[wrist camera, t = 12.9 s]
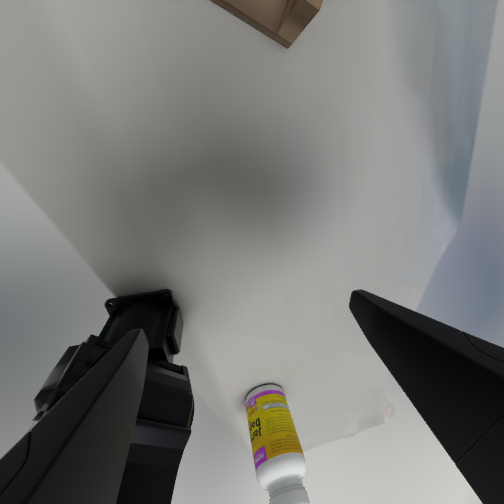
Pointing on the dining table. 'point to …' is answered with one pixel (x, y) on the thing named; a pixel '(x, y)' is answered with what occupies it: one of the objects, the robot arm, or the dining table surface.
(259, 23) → the u rest
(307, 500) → the supplement bottle
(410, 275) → the dining table surface
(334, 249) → the dining table surface
